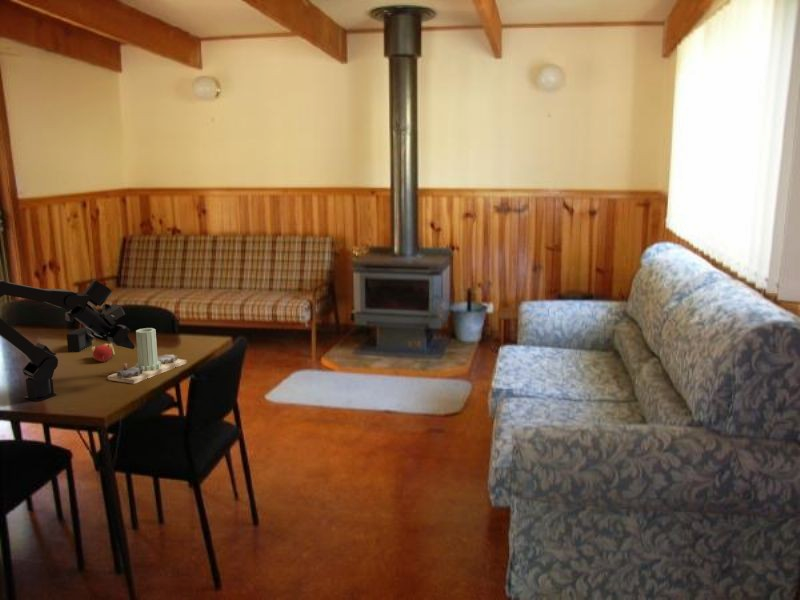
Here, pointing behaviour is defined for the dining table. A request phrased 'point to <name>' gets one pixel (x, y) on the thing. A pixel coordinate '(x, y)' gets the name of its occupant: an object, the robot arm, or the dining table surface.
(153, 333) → the gear sleeve
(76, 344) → the digital camera
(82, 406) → the dining table surface
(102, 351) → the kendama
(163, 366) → the gear board
